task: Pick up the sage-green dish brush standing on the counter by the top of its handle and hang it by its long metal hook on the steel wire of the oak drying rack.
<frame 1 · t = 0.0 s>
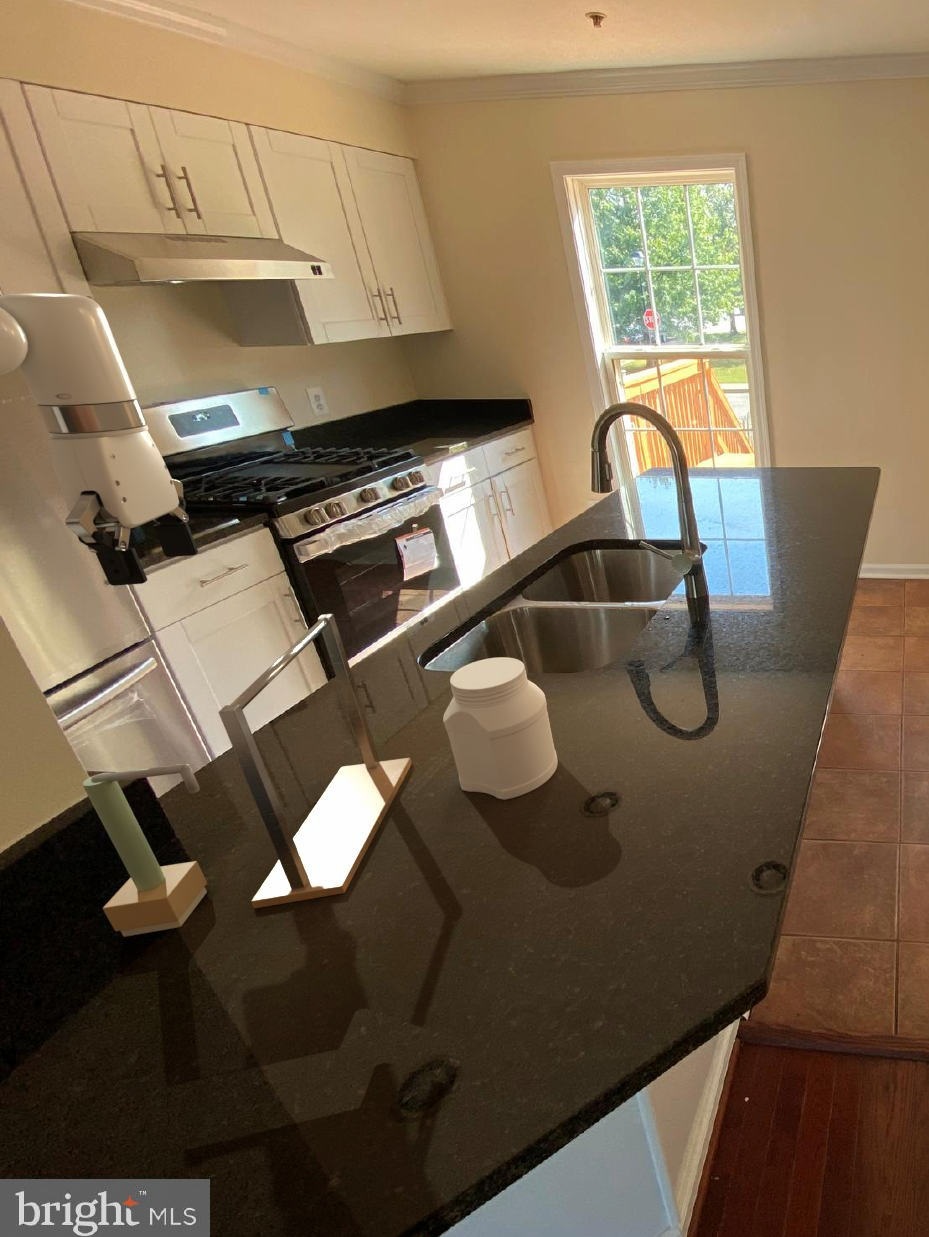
hand: (157, 568, 81), 28 cm above the worktop, tool pointing down, fingers open, 9 cm apart
brush: (167, 913, 69), on the worktop
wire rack: (343, 826, 81), on the worktop
jar: (510, 774, 91), on the worktop
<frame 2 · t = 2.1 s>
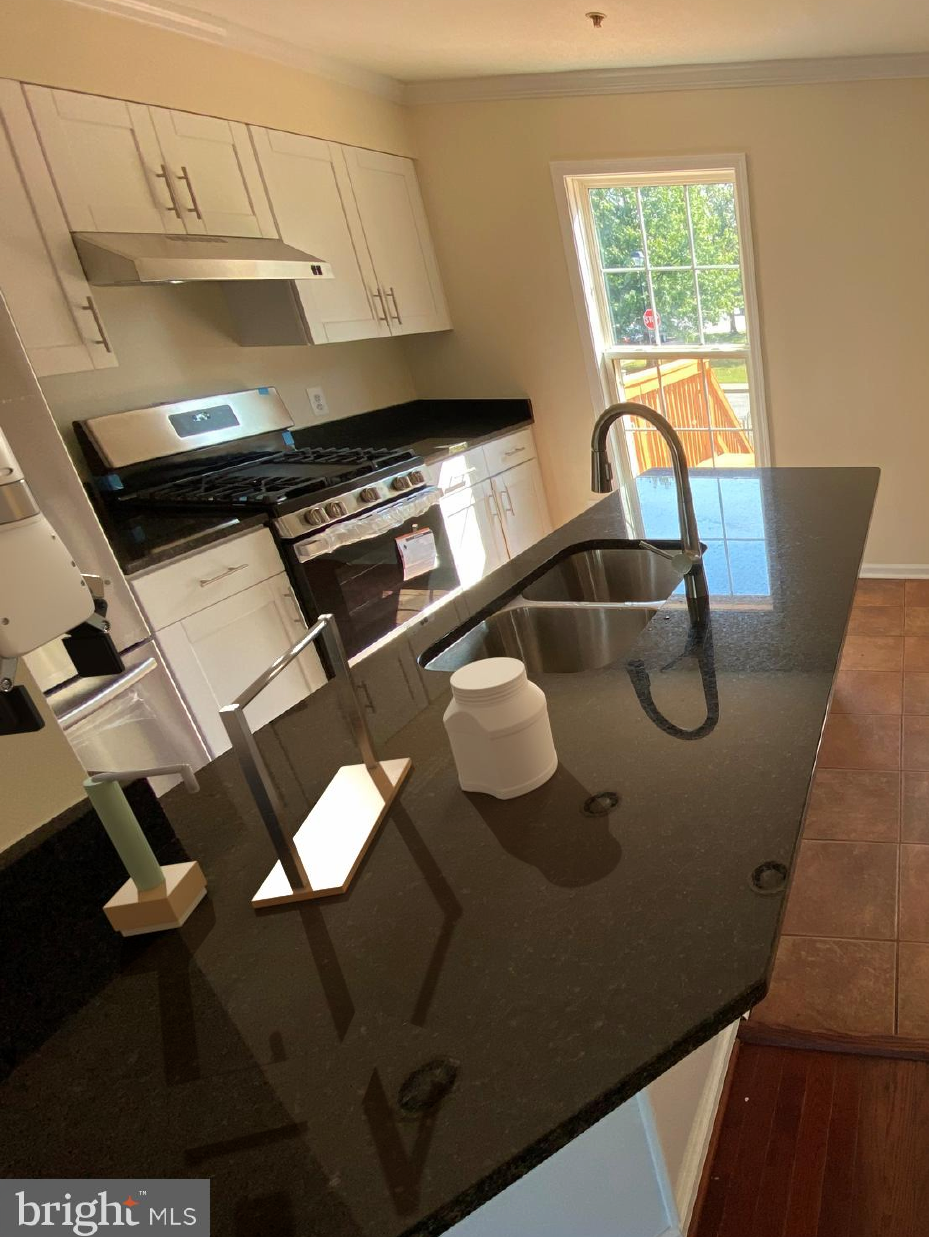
hand: (64, 701, 60), 24 cm above the worktop, tool pointing down, fingers open, 9 cm apart
nothing on the worktop moved.
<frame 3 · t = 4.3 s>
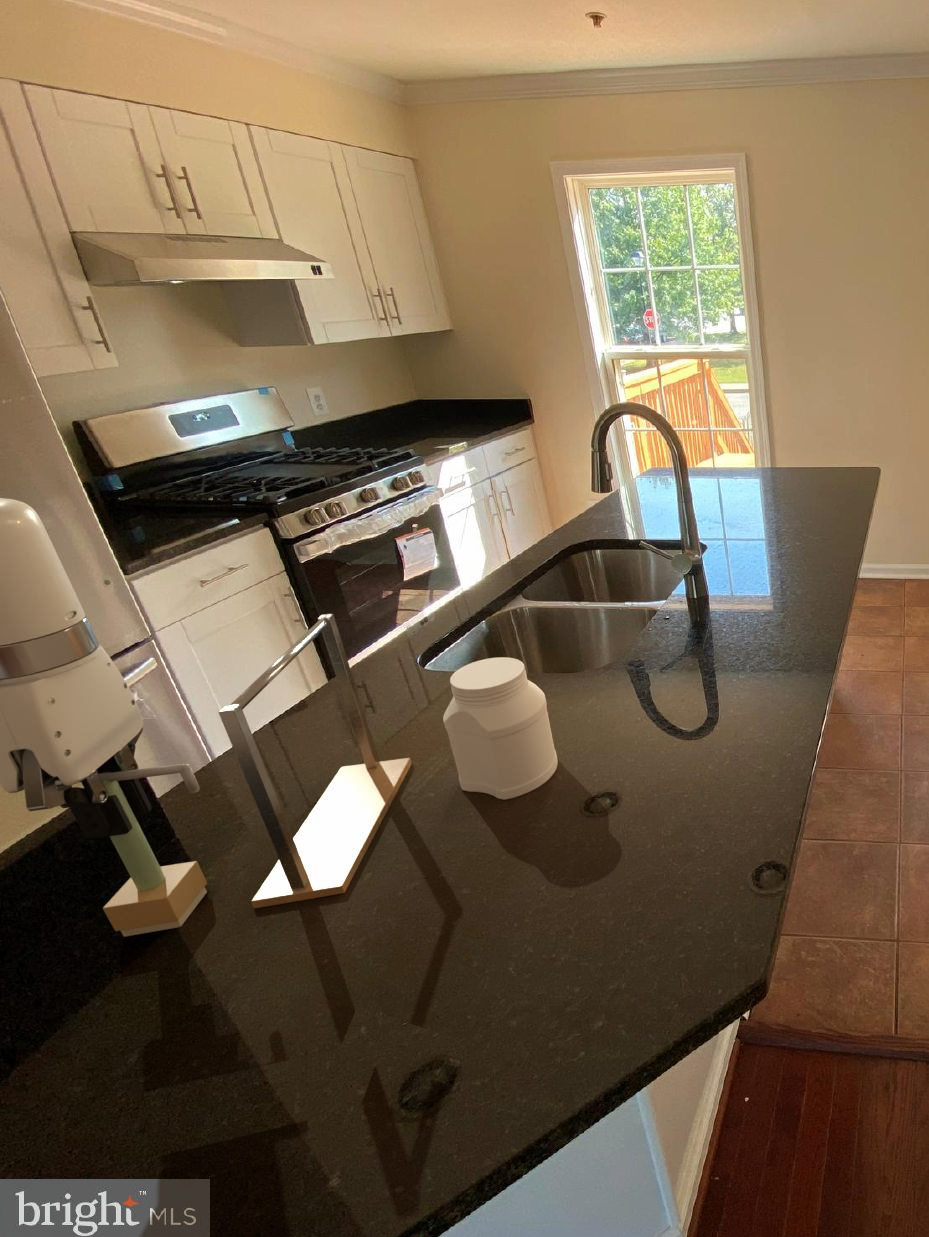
hand: (120, 823, 65), 11 cm above the worktop, tool pointing down, fingers closed on brush
brush: (167, 913, 69), on the worktop, touching gripper
everything else where it was.
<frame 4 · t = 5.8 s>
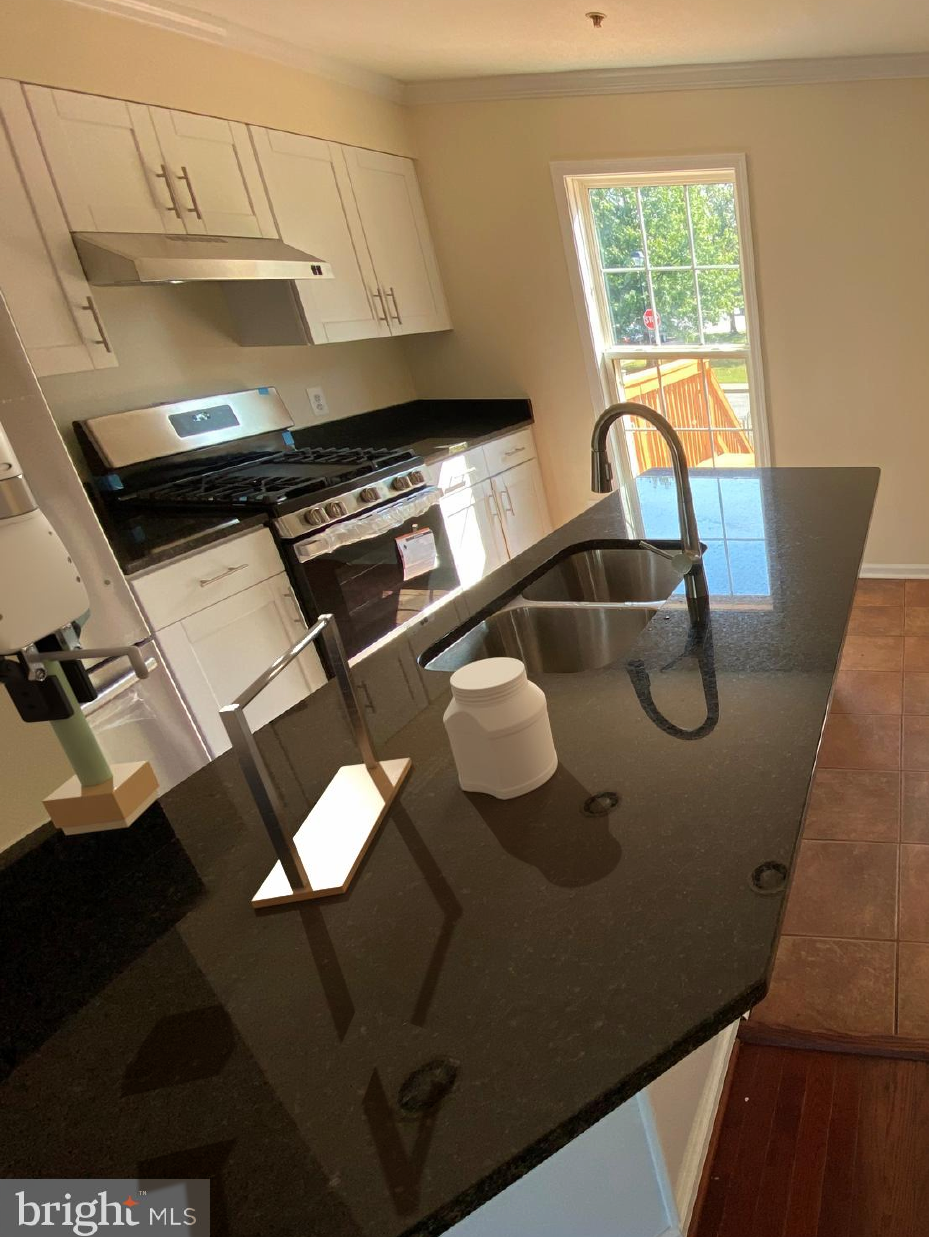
hand: (62, 709, 60), 24 cm above the worktop, tool pointing down, fingers closed on brush
brush: (114, 815, 64), point 12 cm above the worktop, touching gripper
everything else where it was.
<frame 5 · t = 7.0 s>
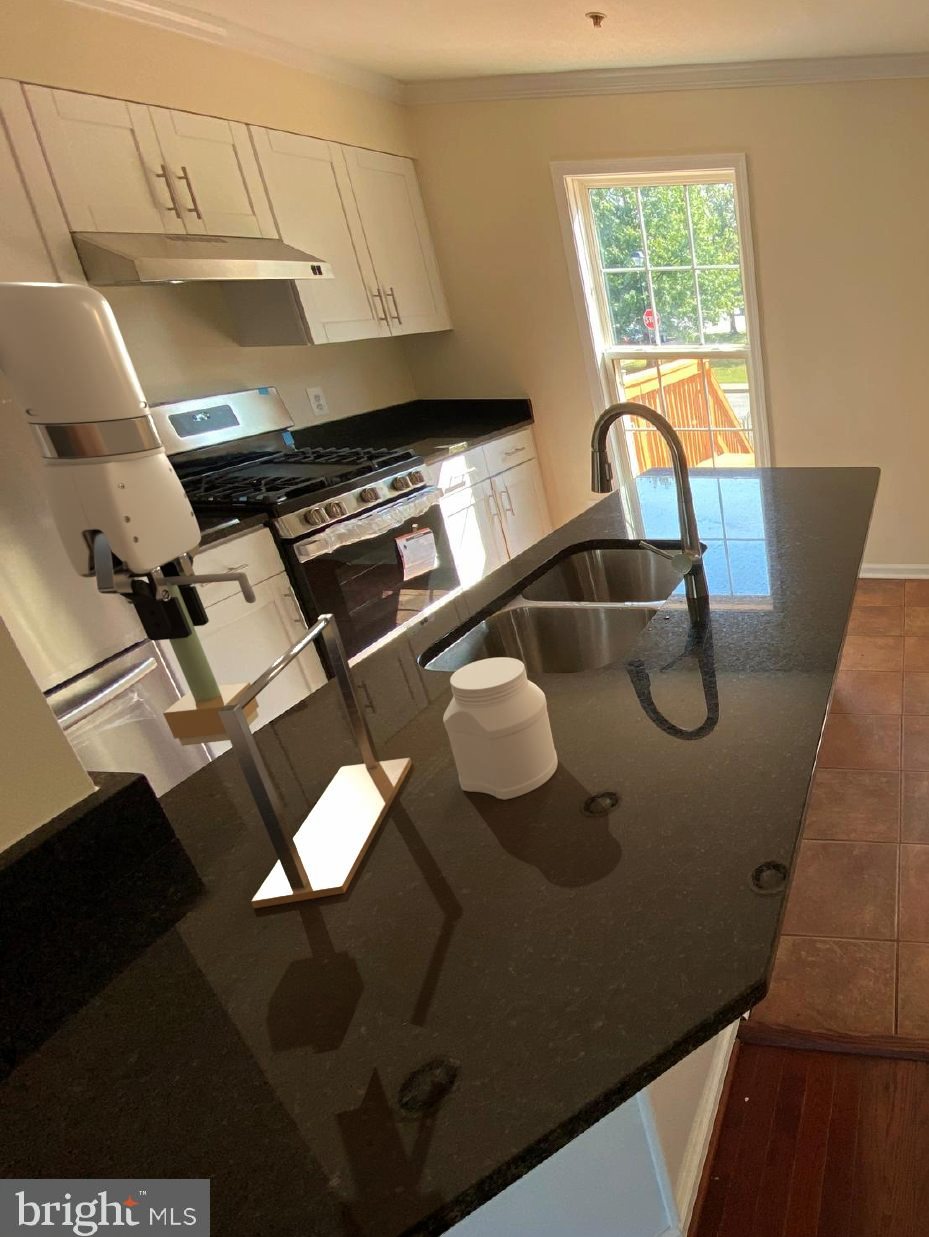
hand: (179, 630, 67), 27 cm above the worktop, tool pointing down, fingers closed on brush
brush: (221, 730, 71), point 16 cm above the worktop, touching gripper
everything else where it was.
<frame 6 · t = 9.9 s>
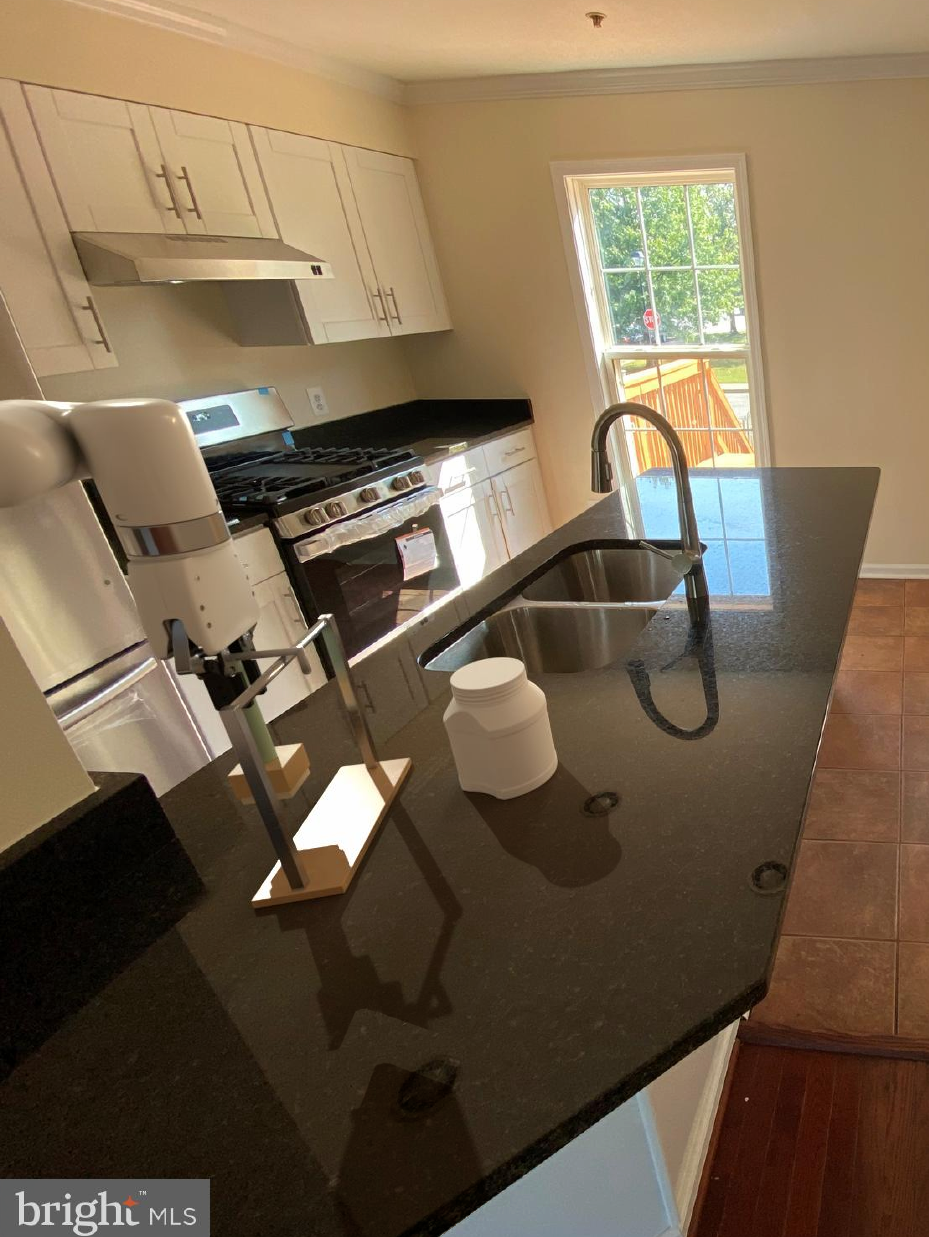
hand: (242, 700, 73), 18 cm above the worktop, tool pointing down, fingers closed on brush, 2 cm apart
brush: (277, 788, 77), point 6 cm above the worktop, touching gripper, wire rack
everything else where it was.
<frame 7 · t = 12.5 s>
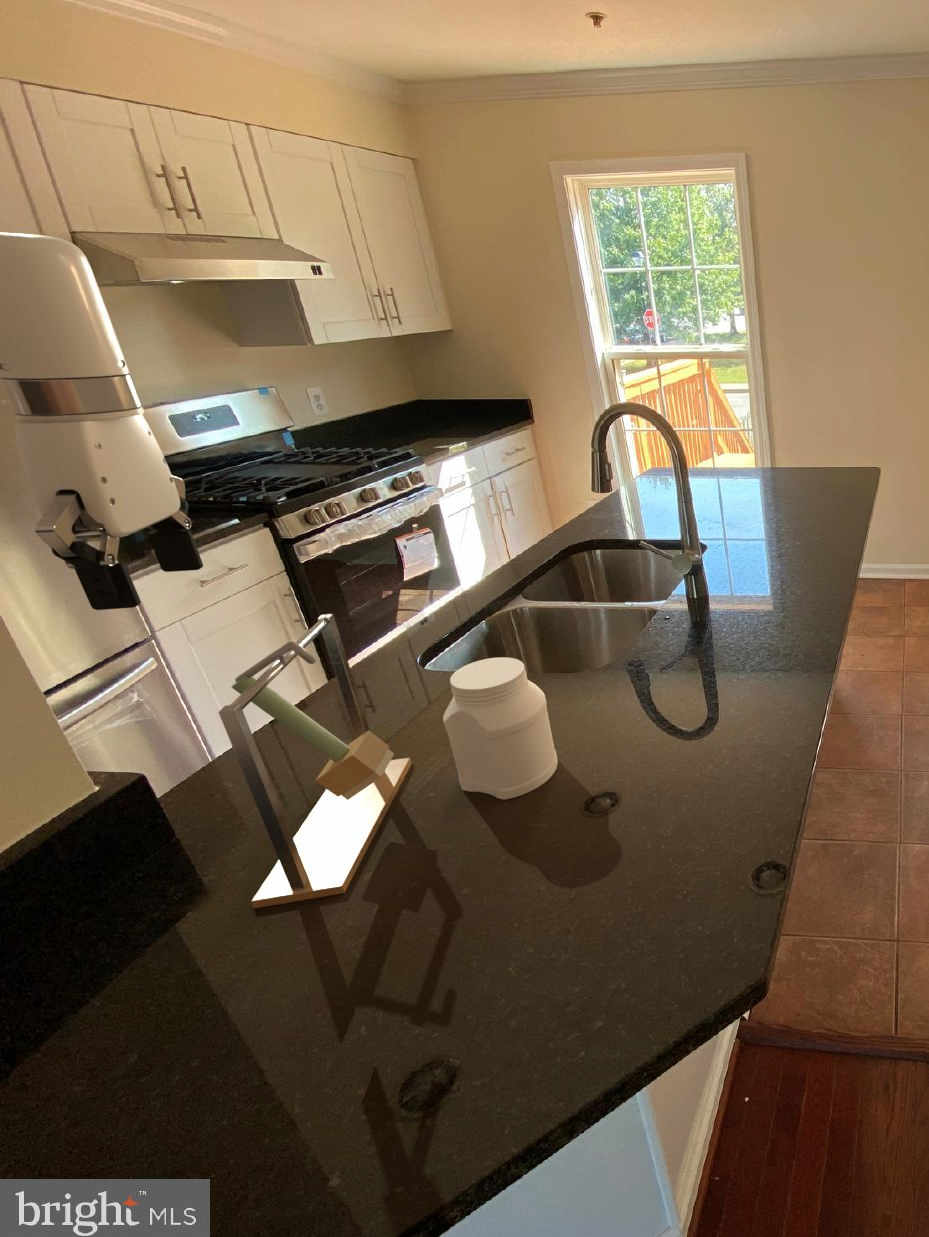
hand: (152, 587, 65), 32 cm above the worktop, tool pointing down, fingers open, 9 cm apart
brush: (371, 776, 80), point 6 cm above the worktop, tilted 32°, touching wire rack
everything else where it was.
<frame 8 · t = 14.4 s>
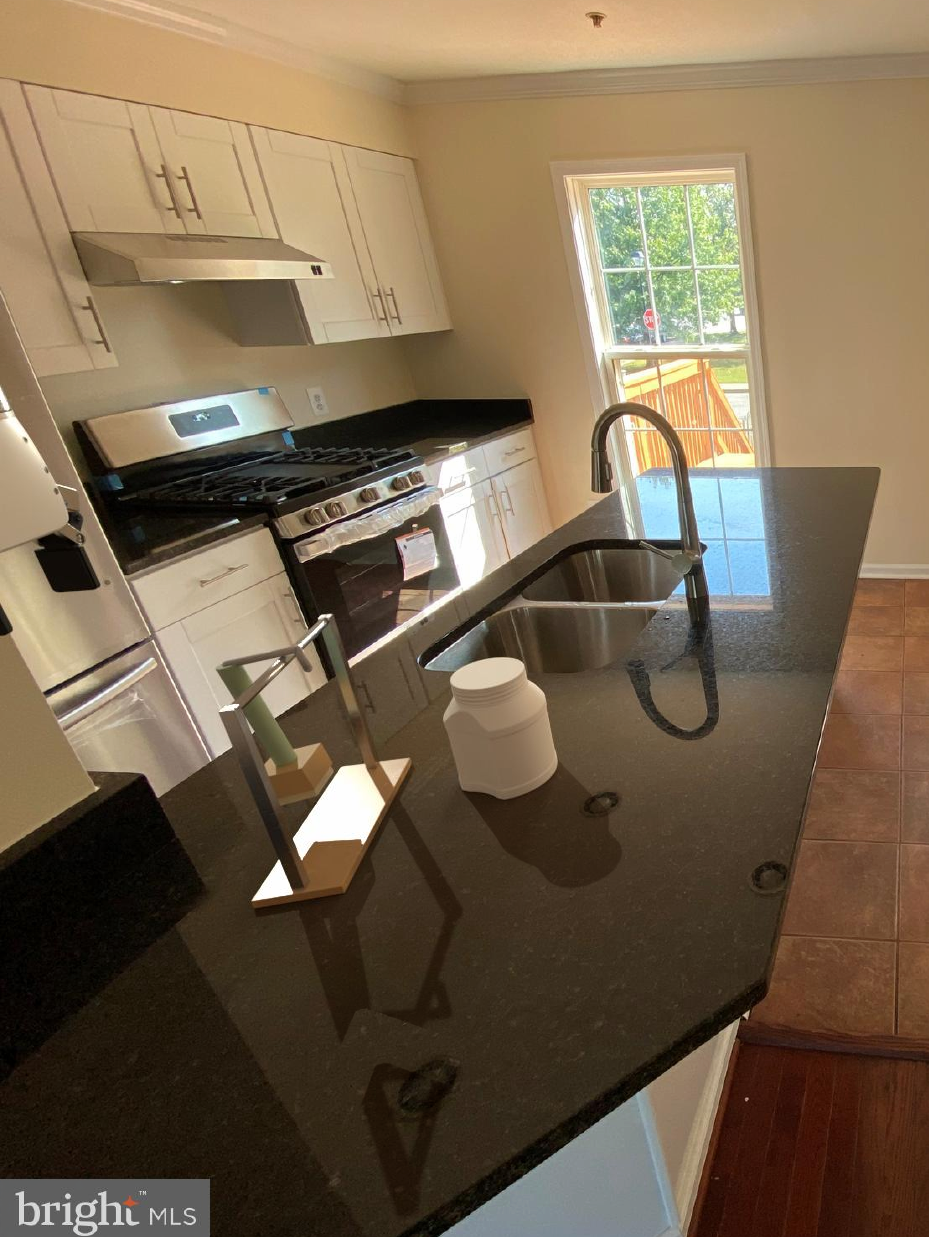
hand: (35, 611, 58), 32 cm above the worktop, tool pointing down, fingers open, 9 cm apart
brush: (303, 789, 78), point 6 cm above the worktop, tilted 9°, touching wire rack
everything else where it was.
at the end: brush touching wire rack; brush inside the target area on the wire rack (4.8 cm from its centre), point 6.3 cm above the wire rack's base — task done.
